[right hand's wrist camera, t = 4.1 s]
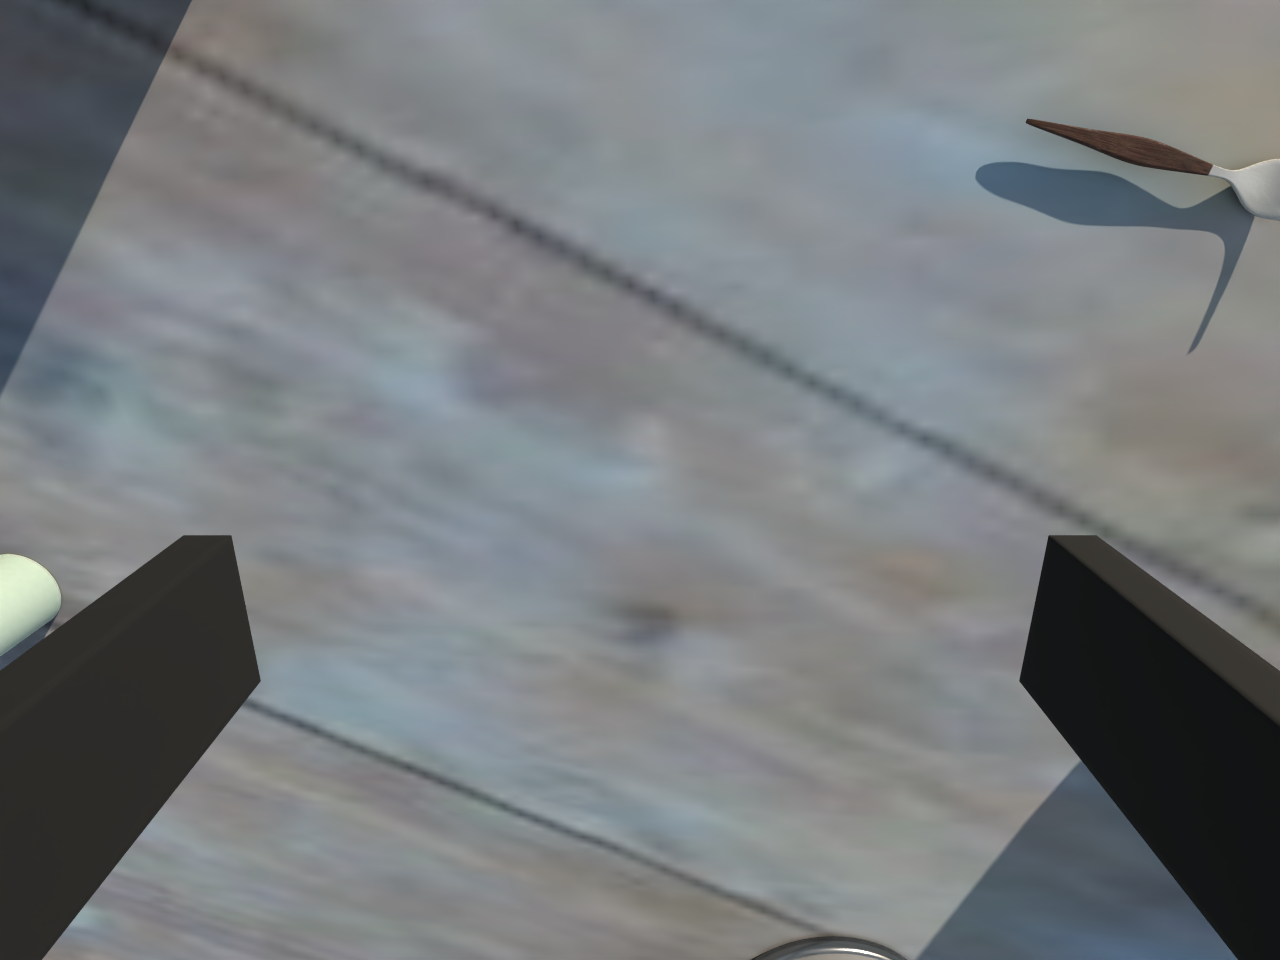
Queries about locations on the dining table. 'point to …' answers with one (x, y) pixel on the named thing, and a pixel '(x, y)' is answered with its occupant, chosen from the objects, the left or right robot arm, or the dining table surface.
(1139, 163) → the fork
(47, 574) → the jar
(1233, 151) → the dining table surface
